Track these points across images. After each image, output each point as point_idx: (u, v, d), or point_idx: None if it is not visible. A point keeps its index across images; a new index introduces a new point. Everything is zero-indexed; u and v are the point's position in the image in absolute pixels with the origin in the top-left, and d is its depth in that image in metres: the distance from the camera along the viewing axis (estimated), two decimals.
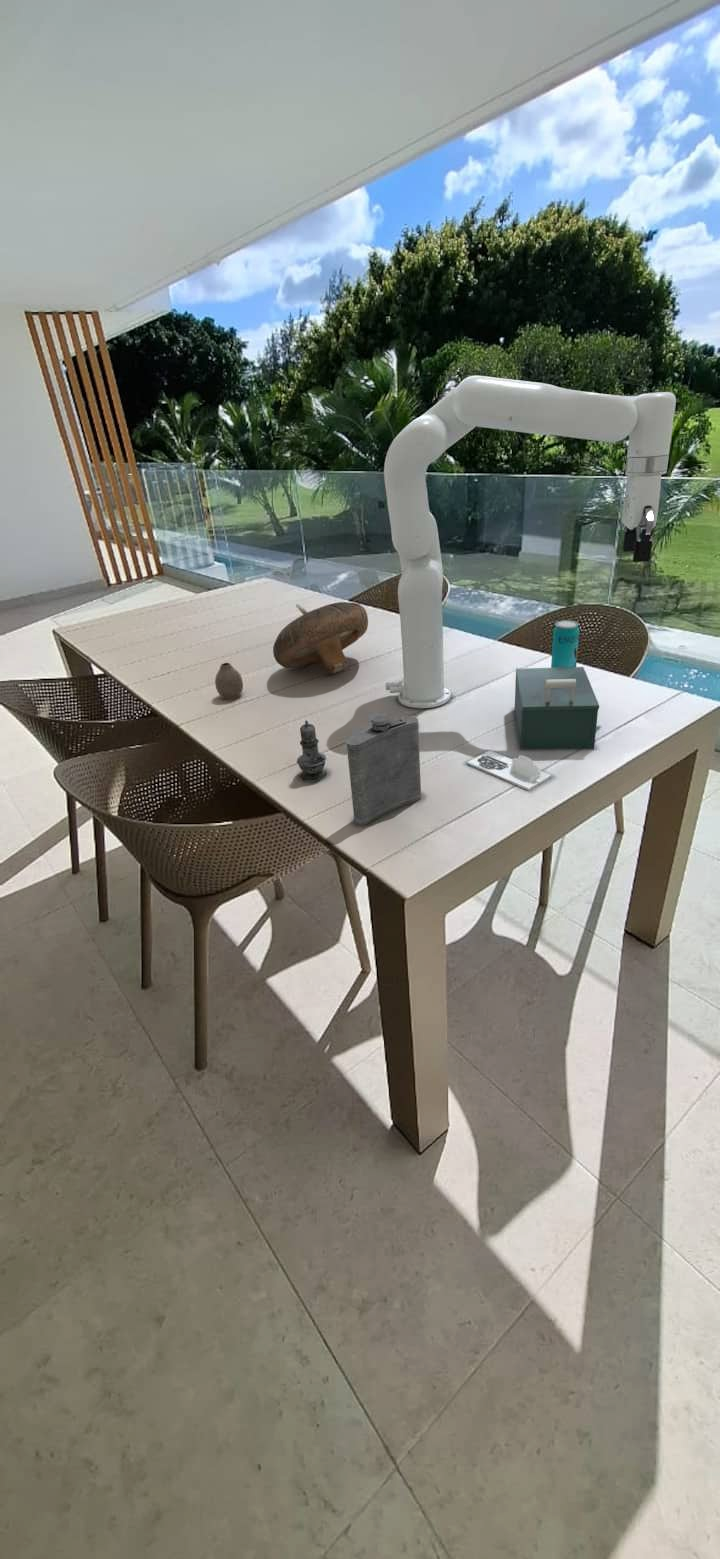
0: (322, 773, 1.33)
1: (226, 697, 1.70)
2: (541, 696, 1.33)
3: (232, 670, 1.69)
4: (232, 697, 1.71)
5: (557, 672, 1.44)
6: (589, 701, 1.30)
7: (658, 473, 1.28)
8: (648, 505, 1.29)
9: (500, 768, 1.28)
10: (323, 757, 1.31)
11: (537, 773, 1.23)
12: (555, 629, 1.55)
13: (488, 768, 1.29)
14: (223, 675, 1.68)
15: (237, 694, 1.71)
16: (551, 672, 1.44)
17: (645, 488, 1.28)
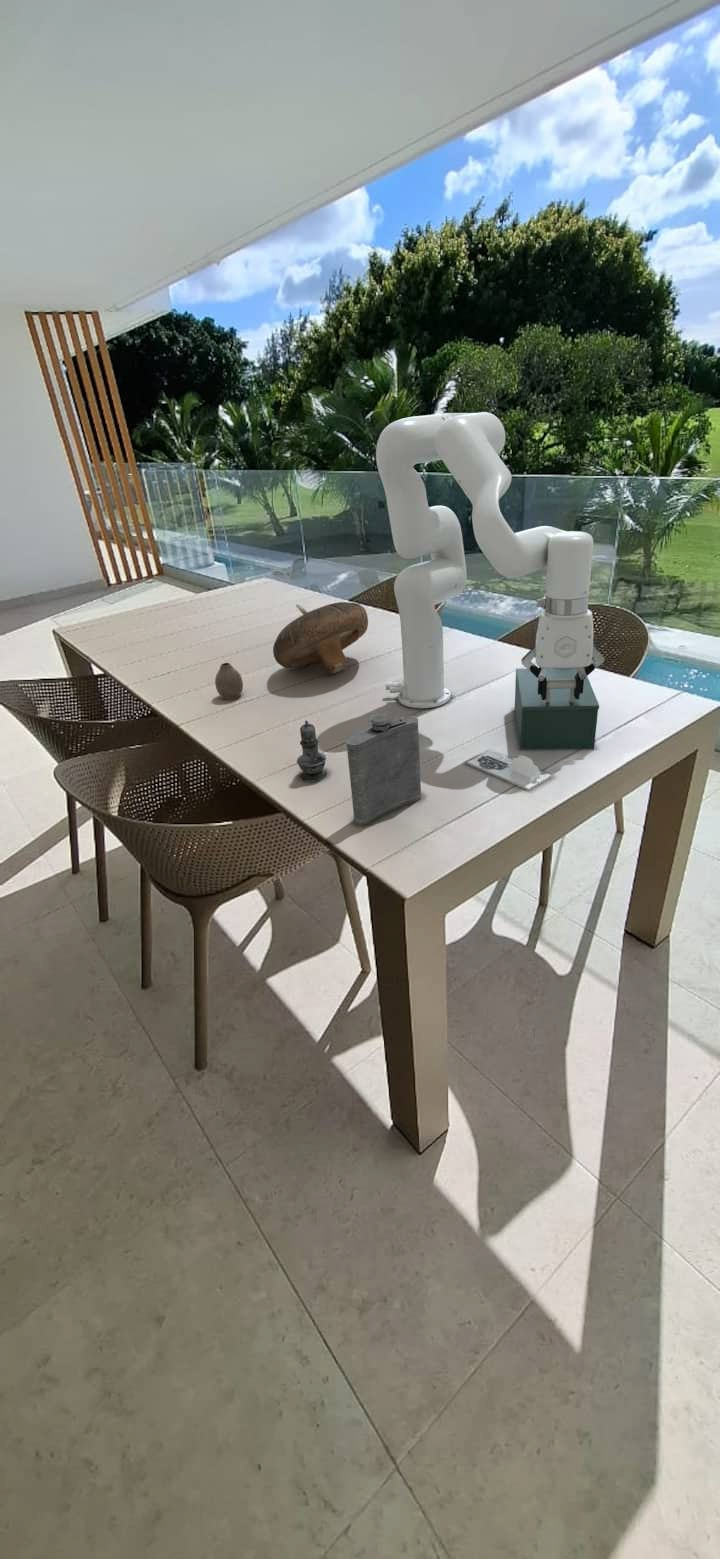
0: (322, 773, 1.33)
1: (226, 697, 1.70)
2: None
3: (232, 670, 1.69)
4: (232, 697, 1.71)
5: (557, 672, 1.44)
6: (589, 701, 1.30)
7: None
8: None
9: (500, 768, 1.28)
10: (323, 757, 1.31)
11: (537, 773, 1.23)
12: None
13: (488, 767, 1.29)
14: (223, 675, 1.68)
15: (237, 694, 1.71)
16: (551, 672, 1.44)
17: None
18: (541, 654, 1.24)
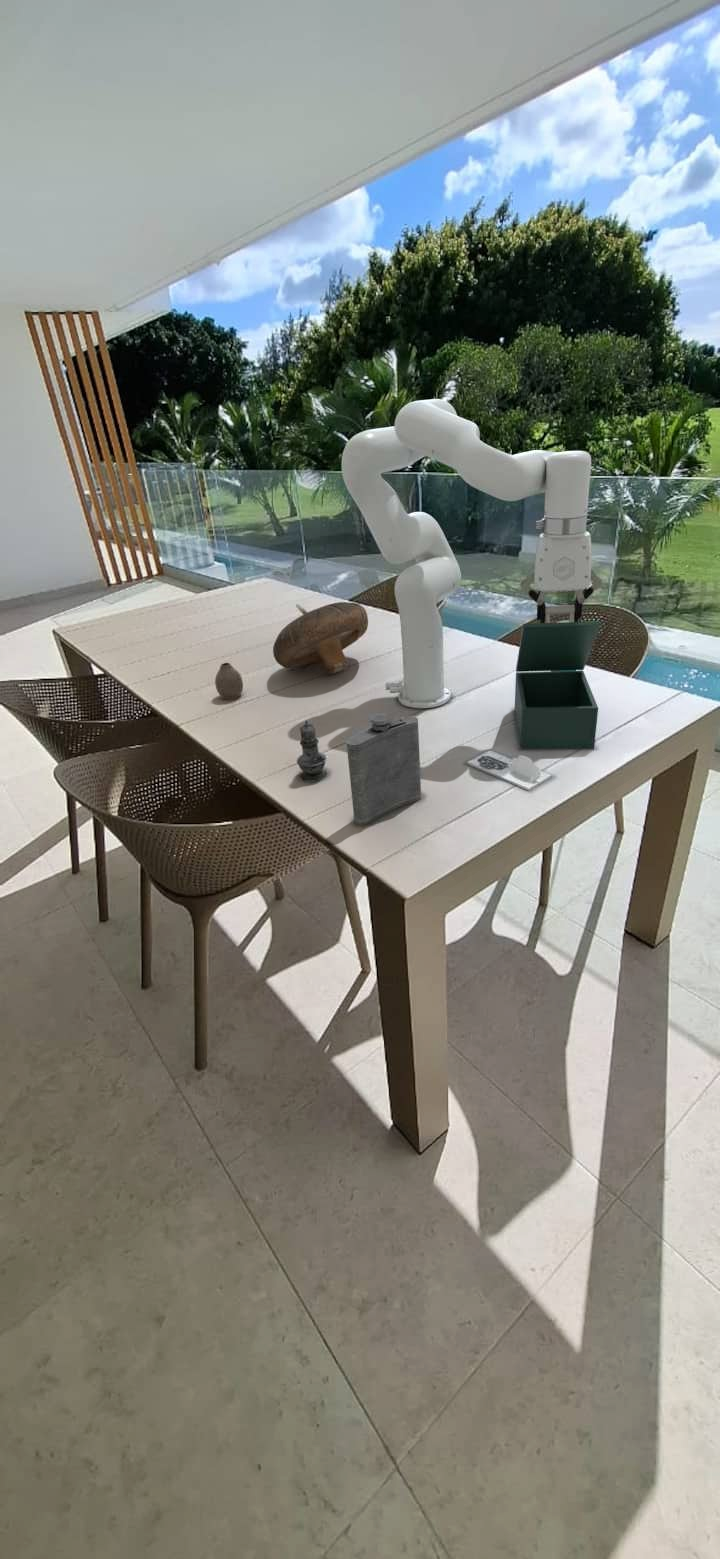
0: (322, 773, 1.33)
1: (226, 697, 1.70)
2: None
3: (232, 670, 1.69)
4: (232, 697, 1.71)
5: None
6: None
7: None
8: None
9: (500, 768, 1.28)
10: (323, 757, 1.31)
11: (537, 773, 1.23)
12: None
13: (488, 768, 1.29)
14: (223, 675, 1.68)
15: (237, 694, 1.71)
16: None
17: None
18: (540, 576, 1.25)
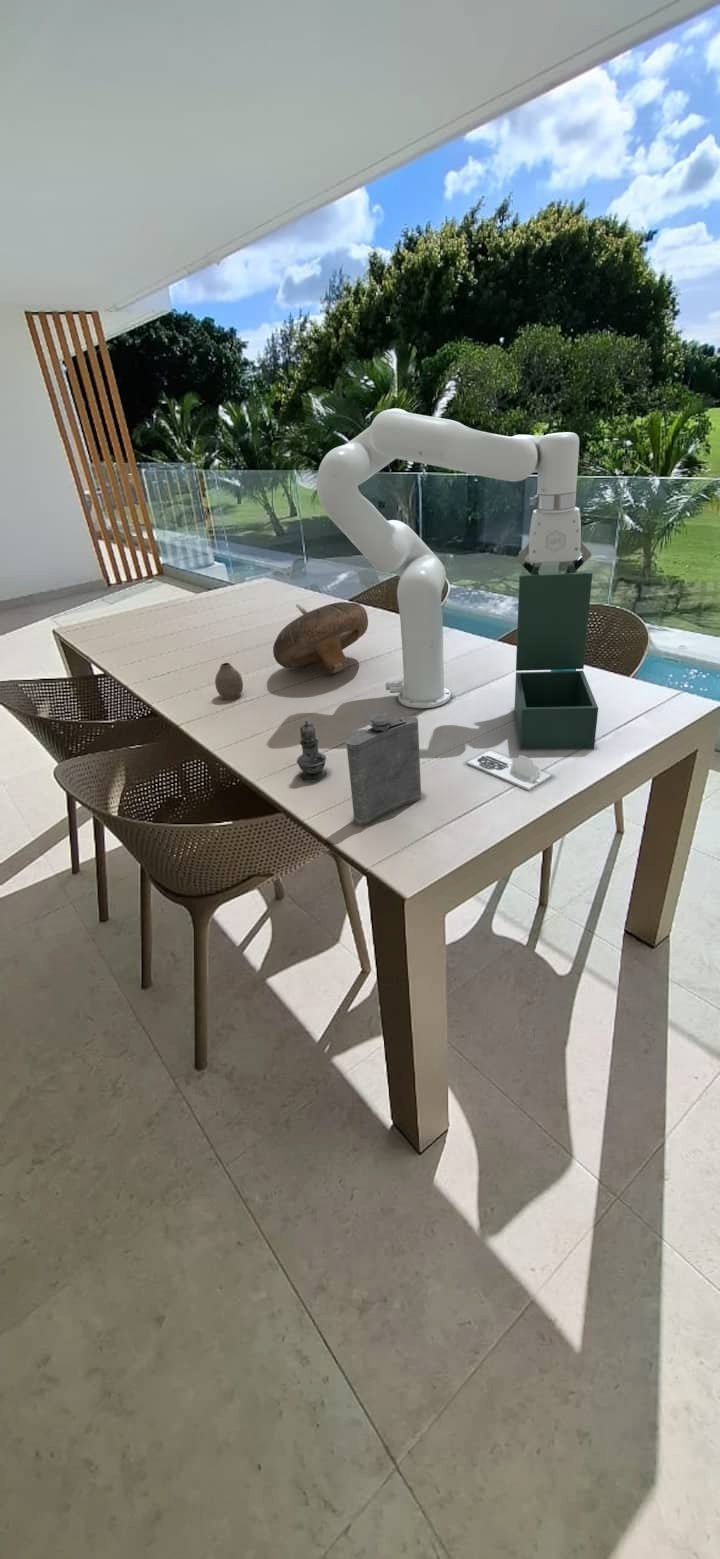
0: (322, 773, 1.33)
1: (226, 697, 1.70)
2: None
3: (232, 670, 1.69)
4: (232, 697, 1.71)
5: None
6: None
7: None
8: None
9: (500, 768, 1.28)
10: (323, 757, 1.31)
11: (537, 773, 1.23)
12: None
13: (488, 768, 1.29)
14: (223, 675, 1.68)
15: (237, 694, 1.71)
16: None
17: (580, 519, 1.34)
18: (534, 549, 1.36)
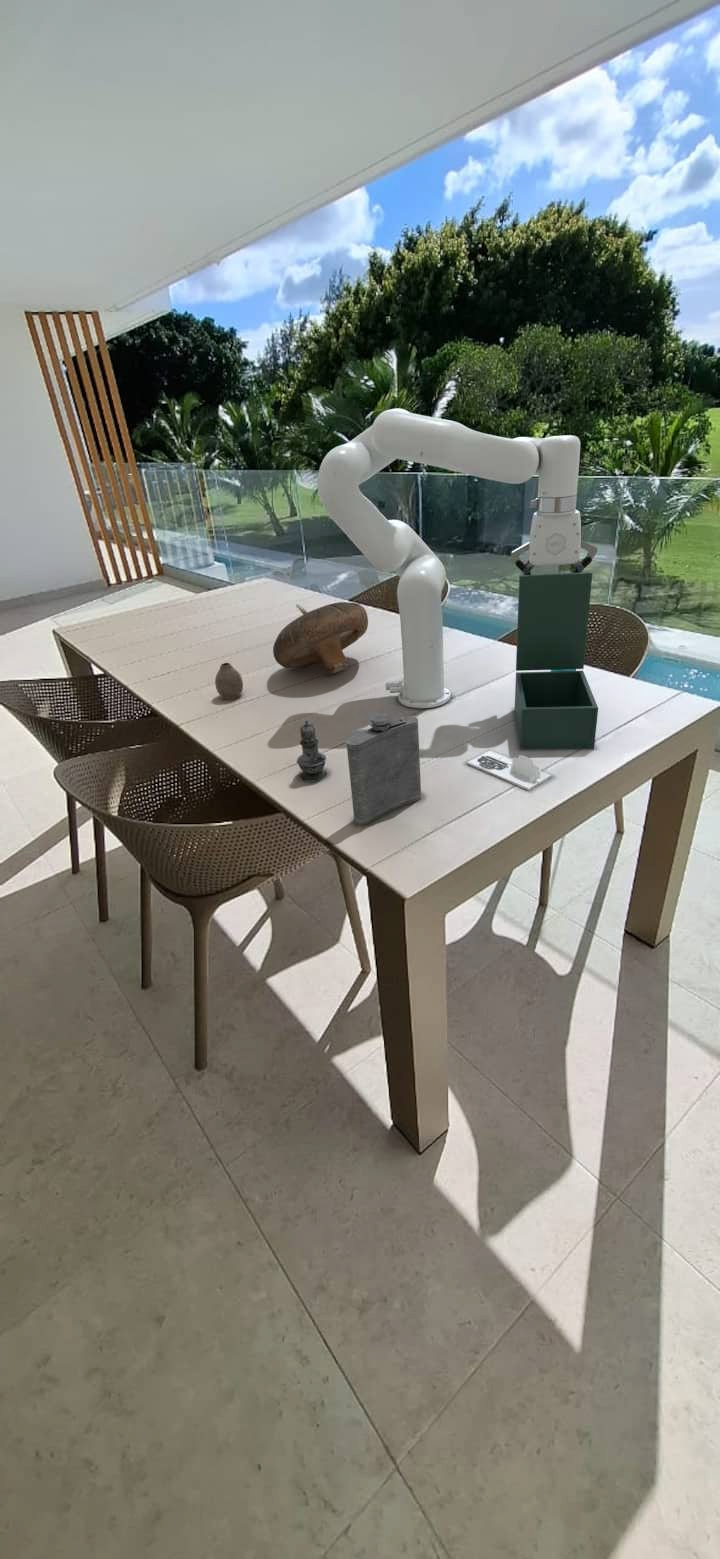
0: (322, 773, 1.33)
1: (226, 697, 1.70)
2: None
3: (232, 670, 1.69)
4: (232, 697, 1.71)
5: None
6: None
7: None
8: None
9: (500, 768, 1.28)
10: (323, 757, 1.31)
11: (537, 773, 1.23)
12: None
13: (488, 768, 1.29)
14: (223, 675, 1.68)
15: (237, 694, 1.71)
16: None
17: (580, 522, 1.34)
18: (534, 551, 1.37)
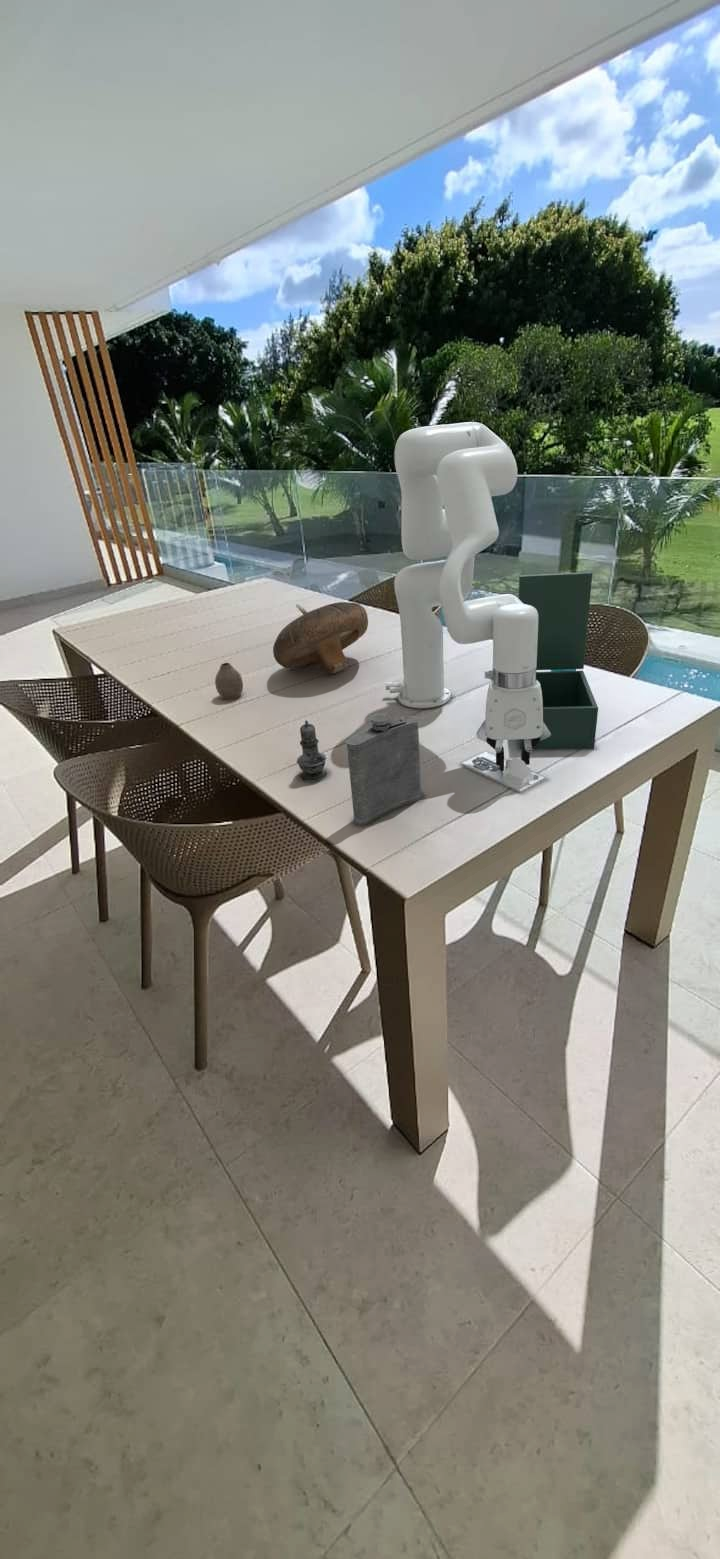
0: (322, 773, 1.33)
1: (226, 697, 1.70)
2: None
3: (232, 670, 1.69)
4: (232, 697, 1.71)
5: None
6: None
7: None
8: None
9: (494, 770, 1.28)
10: (323, 757, 1.31)
11: (530, 775, 1.22)
12: None
13: (482, 769, 1.29)
14: (223, 675, 1.68)
15: (237, 694, 1.71)
16: None
17: None
18: (490, 726, 1.21)
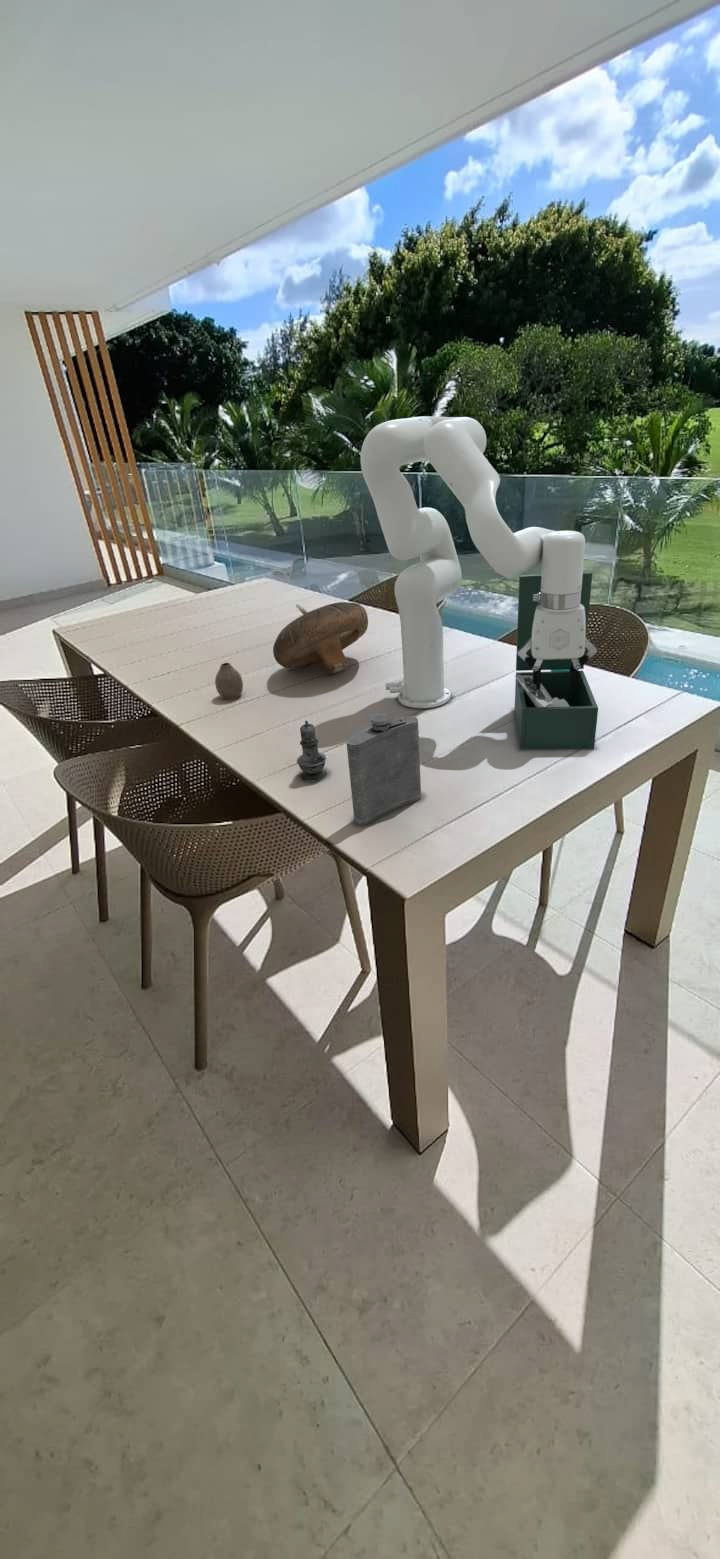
0: (322, 773, 1.33)
1: (226, 697, 1.70)
2: None
3: (232, 670, 1.69)
4: (232, 697, 1.71)
5: None
6: None
7: None
8: None
9: (538, 697, 1.40)
10: (323, 757, 1.31)
11: None
12: None
13: (530, 691, 1.40)
14: (223, 675, 1.68)
15: (237, 694, 1.71)
16: None
17: None
18: (537, 646, 1.32)
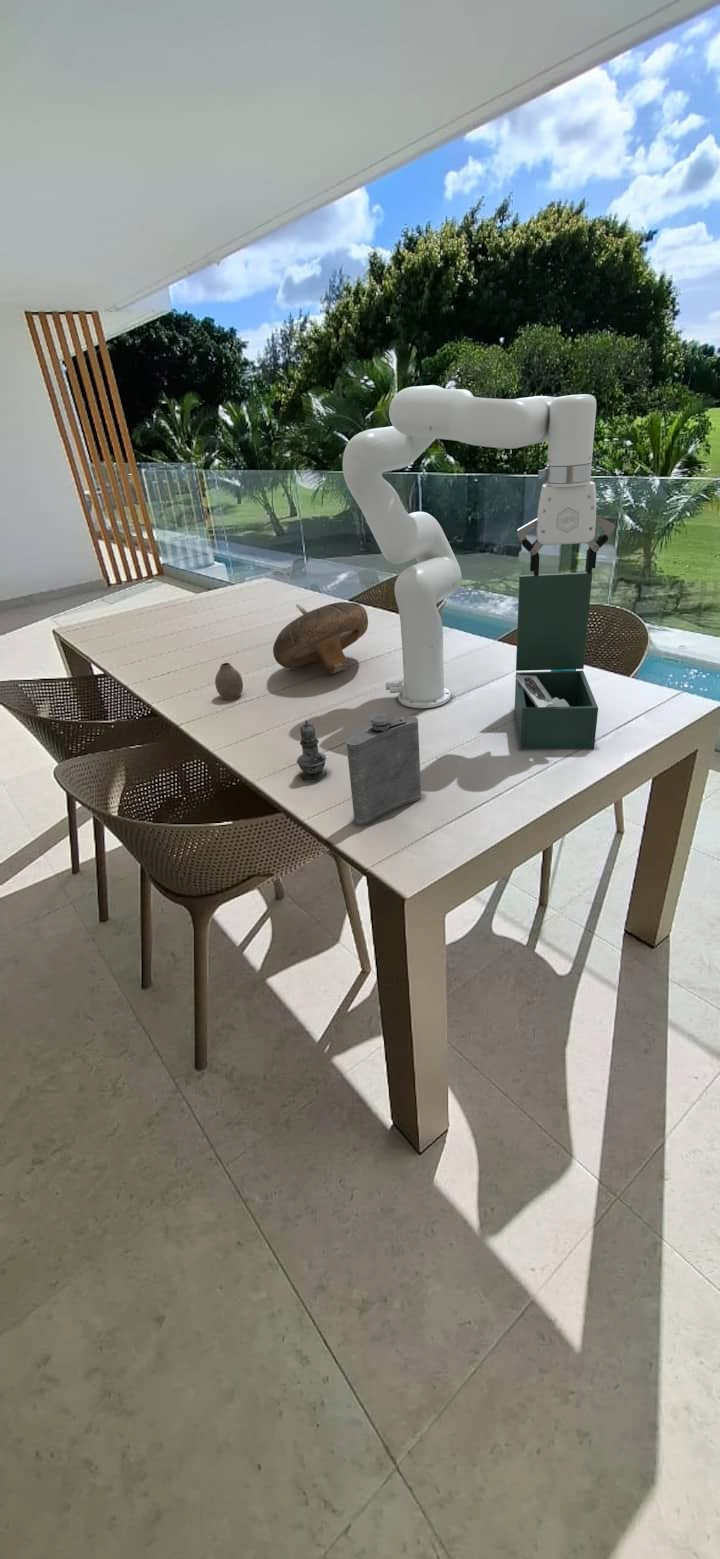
0: (322, 773, 1.33)
1: (226, 697, 1.70)
2: None
3: (232, 670, 1.69)
4: (232, 697, 1.71)
5: None
6: None
7: None
8: None
9: (538, 697, 1.40)
10: (323, 757, 1.31)
11: None
12: None
13: (530, 691, 1.40)
14: (223, 675, 1.68)
15: (237, 694, 1.71)
16: None
17: None
18: (543, 529, 1.21)
